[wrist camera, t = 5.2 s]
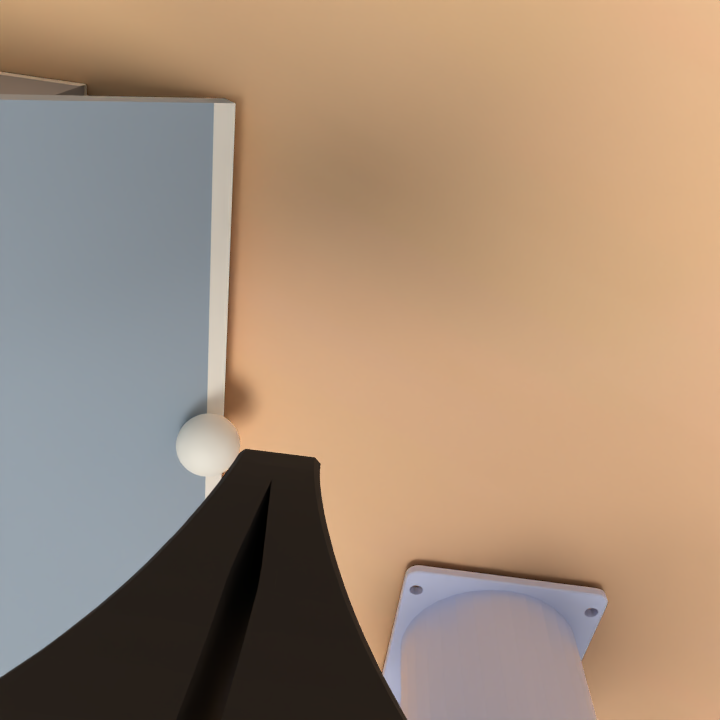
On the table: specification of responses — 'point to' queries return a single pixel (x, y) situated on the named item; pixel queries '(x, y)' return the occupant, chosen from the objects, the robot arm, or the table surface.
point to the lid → (106, 343)
